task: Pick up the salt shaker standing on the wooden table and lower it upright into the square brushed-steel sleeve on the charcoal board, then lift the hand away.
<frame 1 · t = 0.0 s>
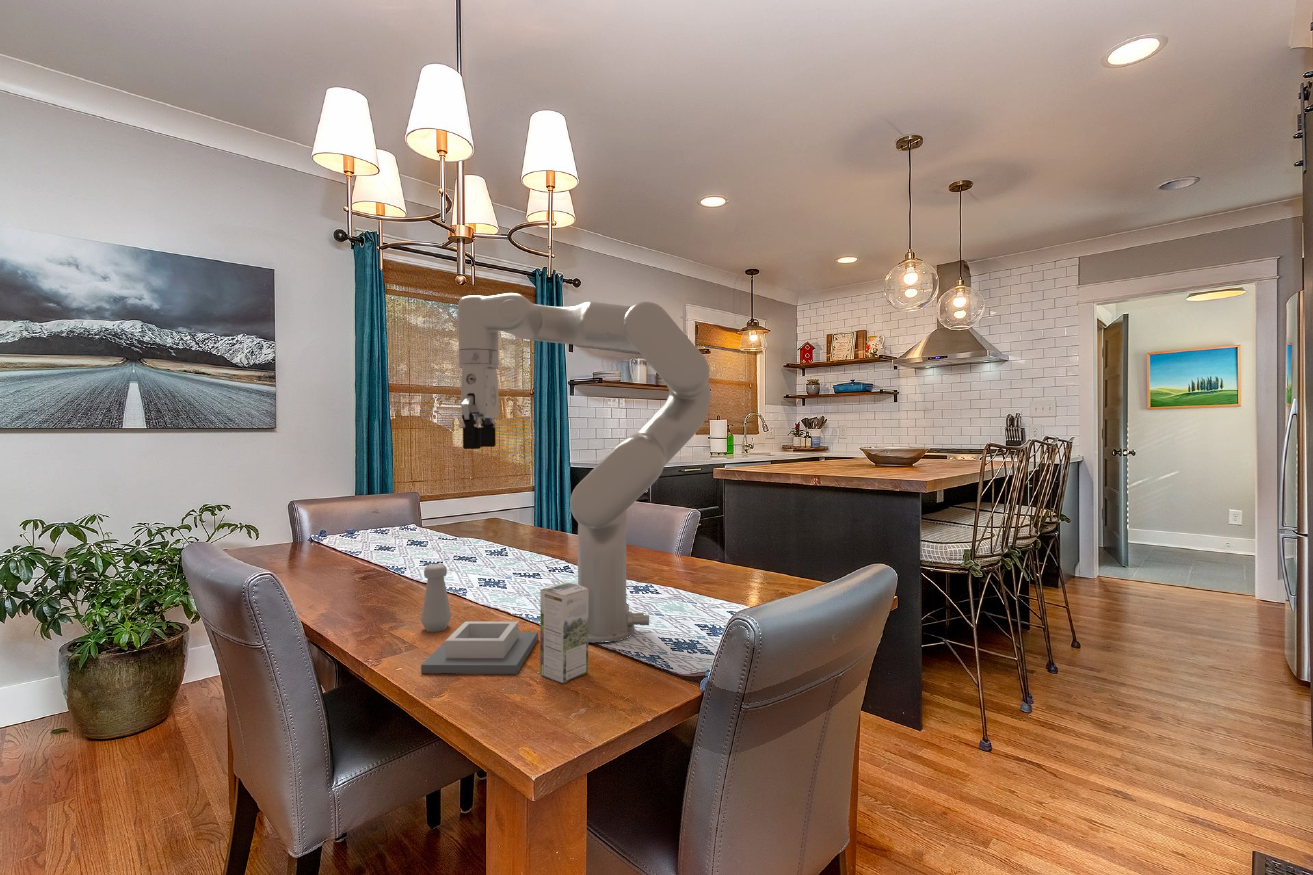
hand: (480, 447, 121), 37 cm above the table, tool pointing down, fingers open, 9 cm apart
sleeve board: (483, 655, 110), on the table
syrup box: (564, 675, 101), on the table
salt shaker: (436, 629, 124), on the table
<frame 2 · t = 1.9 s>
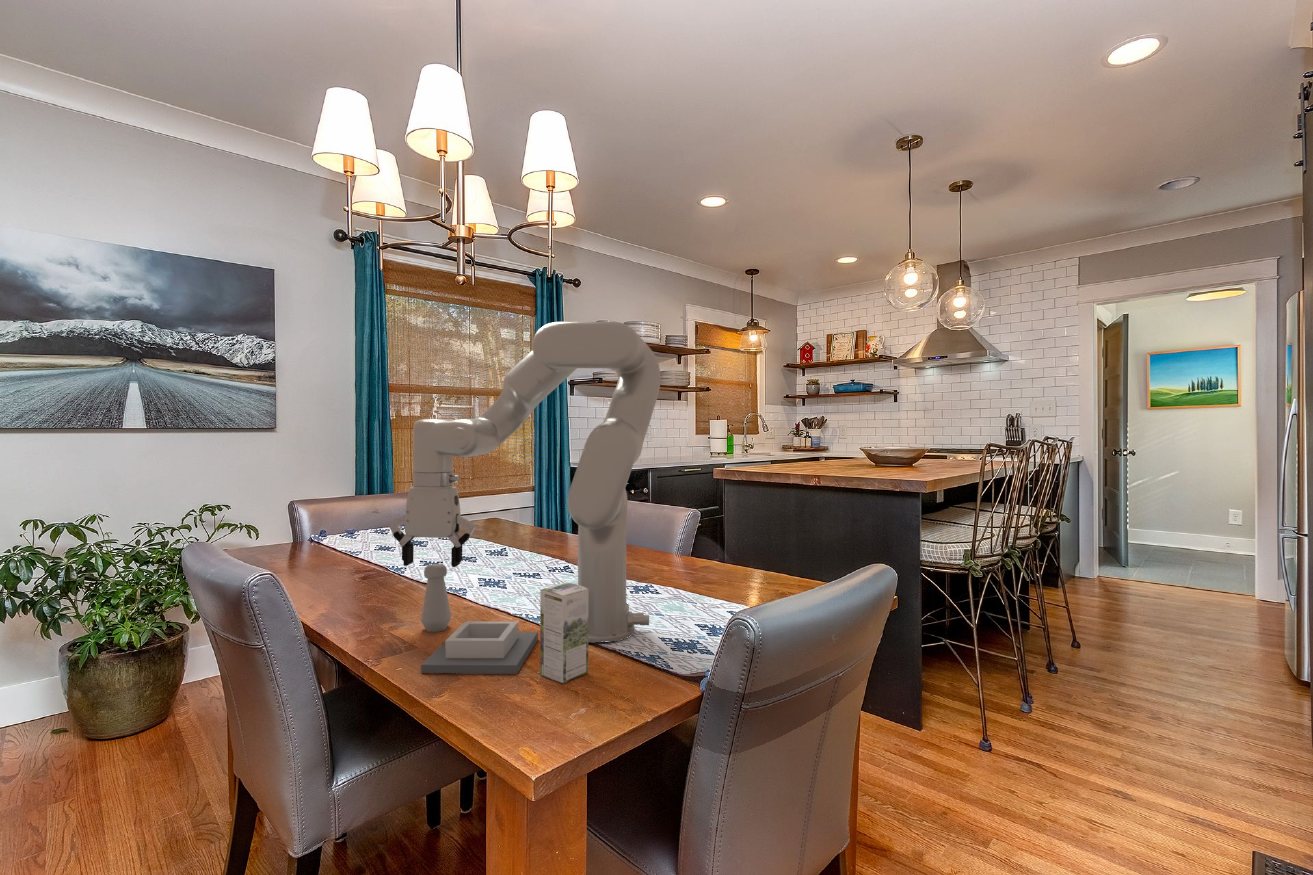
hand: (432, 565, 124), 13 cm above the table, tool pointing down, fingers open, 9 cm apart
nothing on the table moved.
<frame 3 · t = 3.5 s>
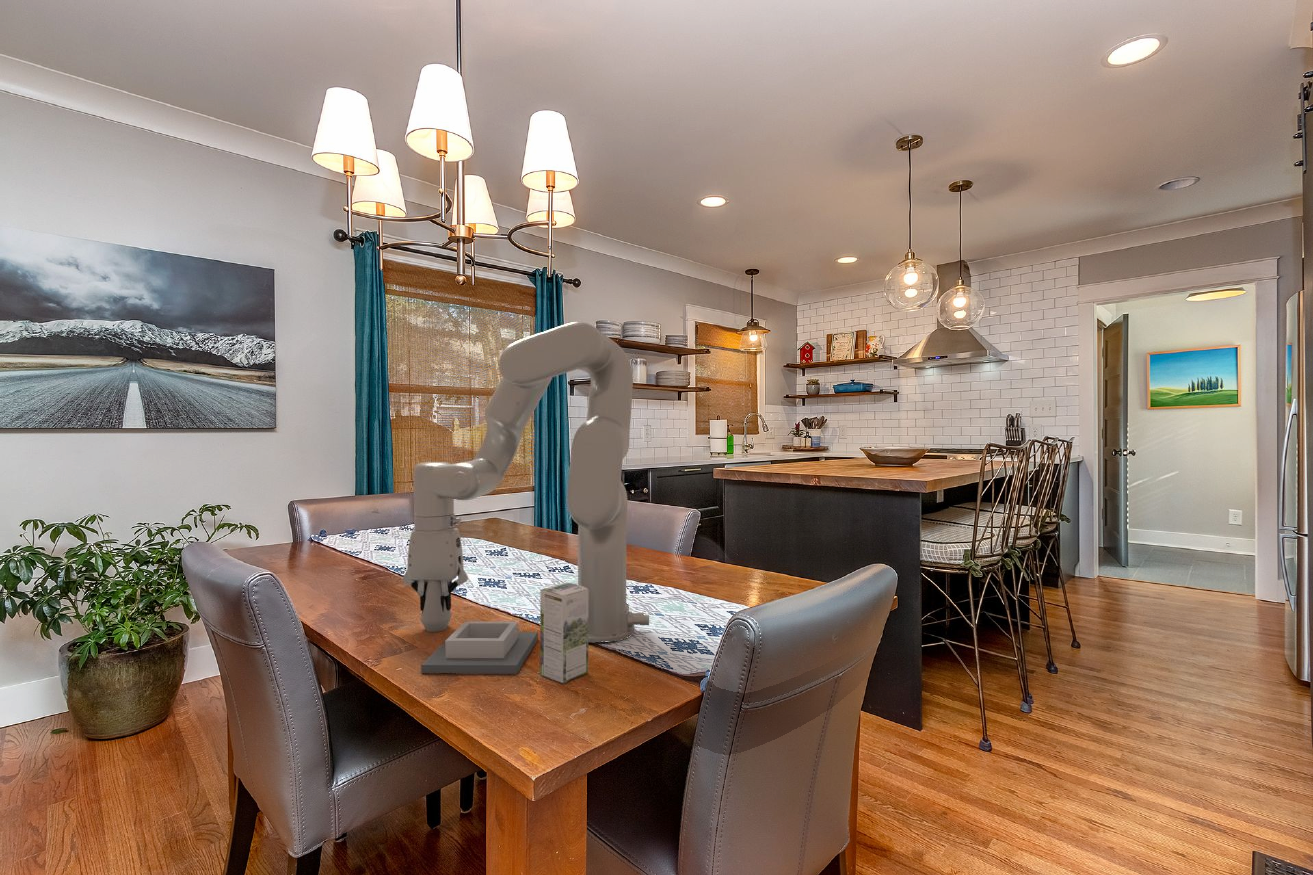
hand: (435, 613, 124), 3 cm above the table, tool pointing down, fingers closed on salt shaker, 3 cm apart
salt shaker: (436, 629, 124), on the table, touching gripper
everything else where it was.
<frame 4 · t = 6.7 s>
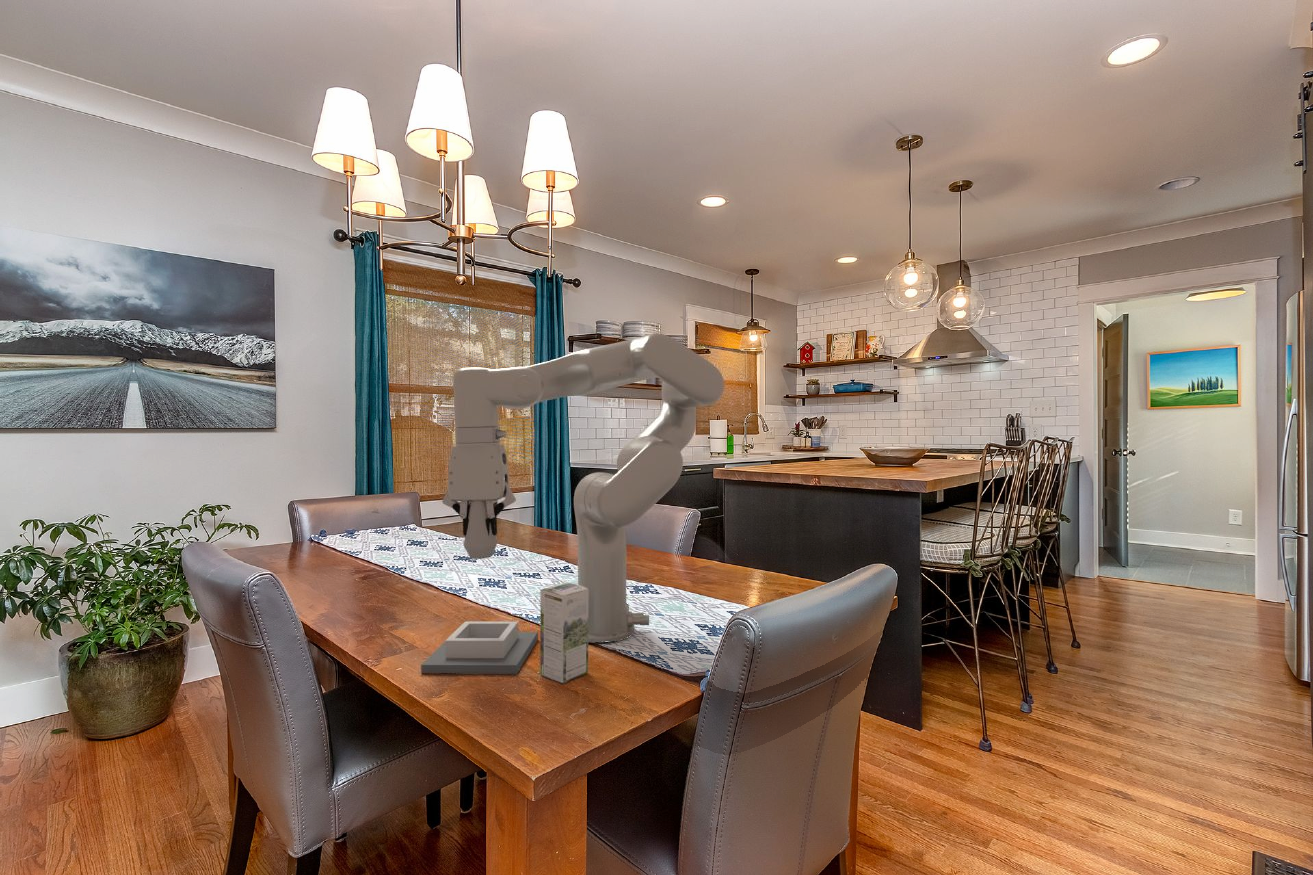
hand: (480, 538, 110), 21 cm above the table, tool pointing down, fingers closed on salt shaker, 3 cm apart
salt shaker: (481, 557, 110), point 17 cm above the table, touching gripper
everything else where it was.
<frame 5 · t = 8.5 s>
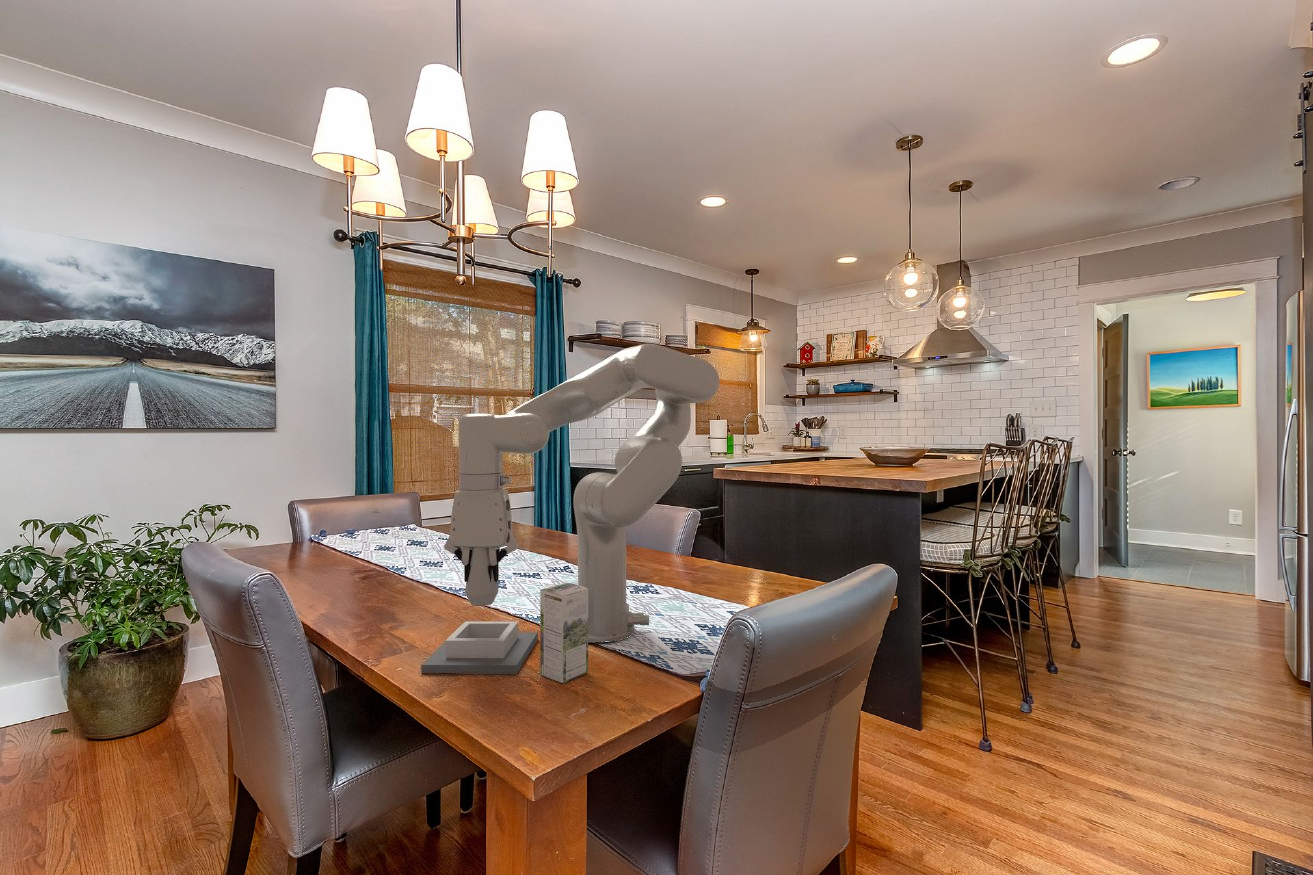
hand: (481, 585, 109), 13 cm above the table, tool pointing down, fingers closed on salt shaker, 3 cm apart
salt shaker: (482, 604, 109), point 9 cm above the table, touching gripper
everything else where it was.
when the fingers open (6 cm above the table, at t = 10.0 s): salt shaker drops 1 cm, resting on sleeve board.
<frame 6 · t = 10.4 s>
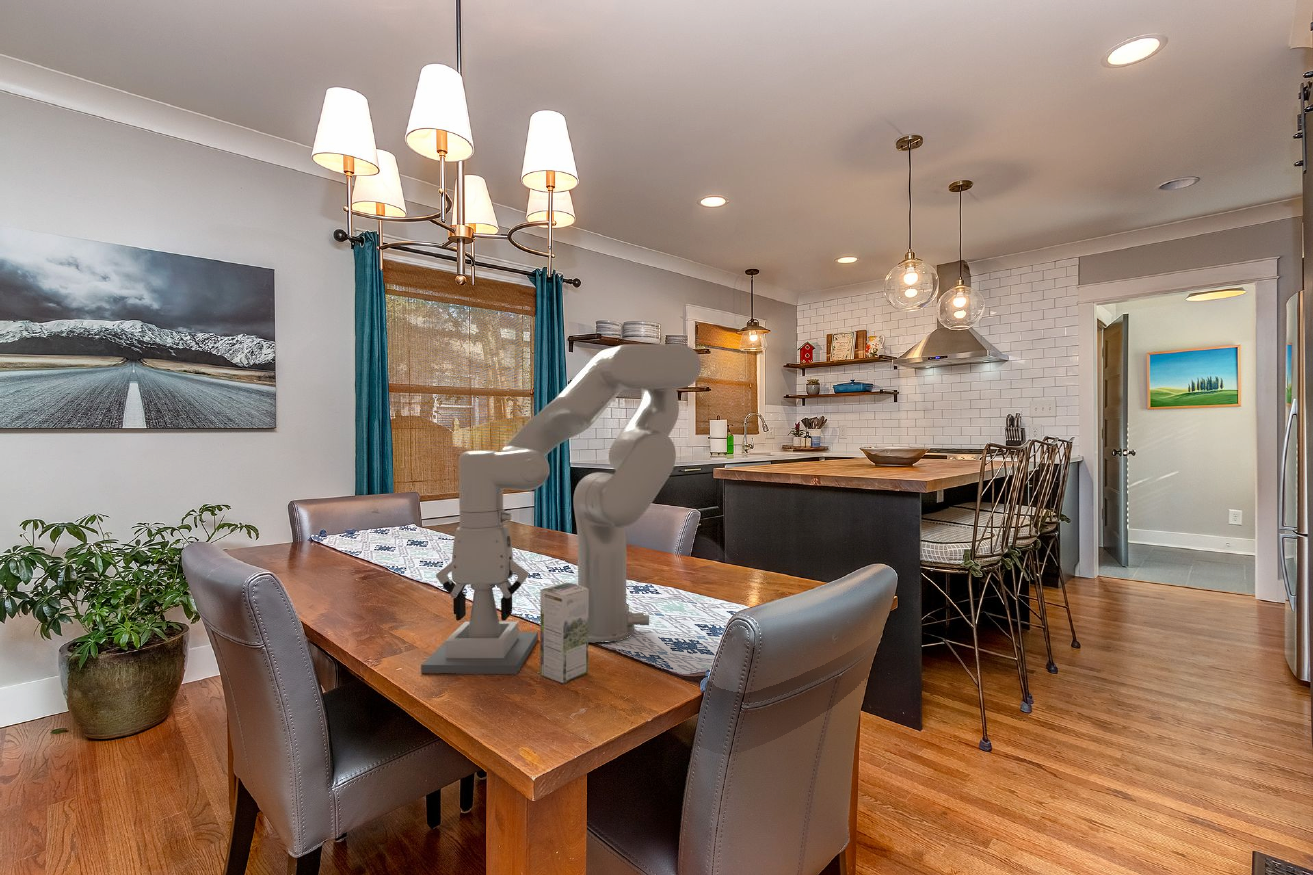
hand: (483, 617, 110), 7 cm above the table, tool pointing down, fingers open, 7 cm apart
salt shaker: (484, 648, 110), point 1 cm above the table, touching sleeve board
everything else where it was.
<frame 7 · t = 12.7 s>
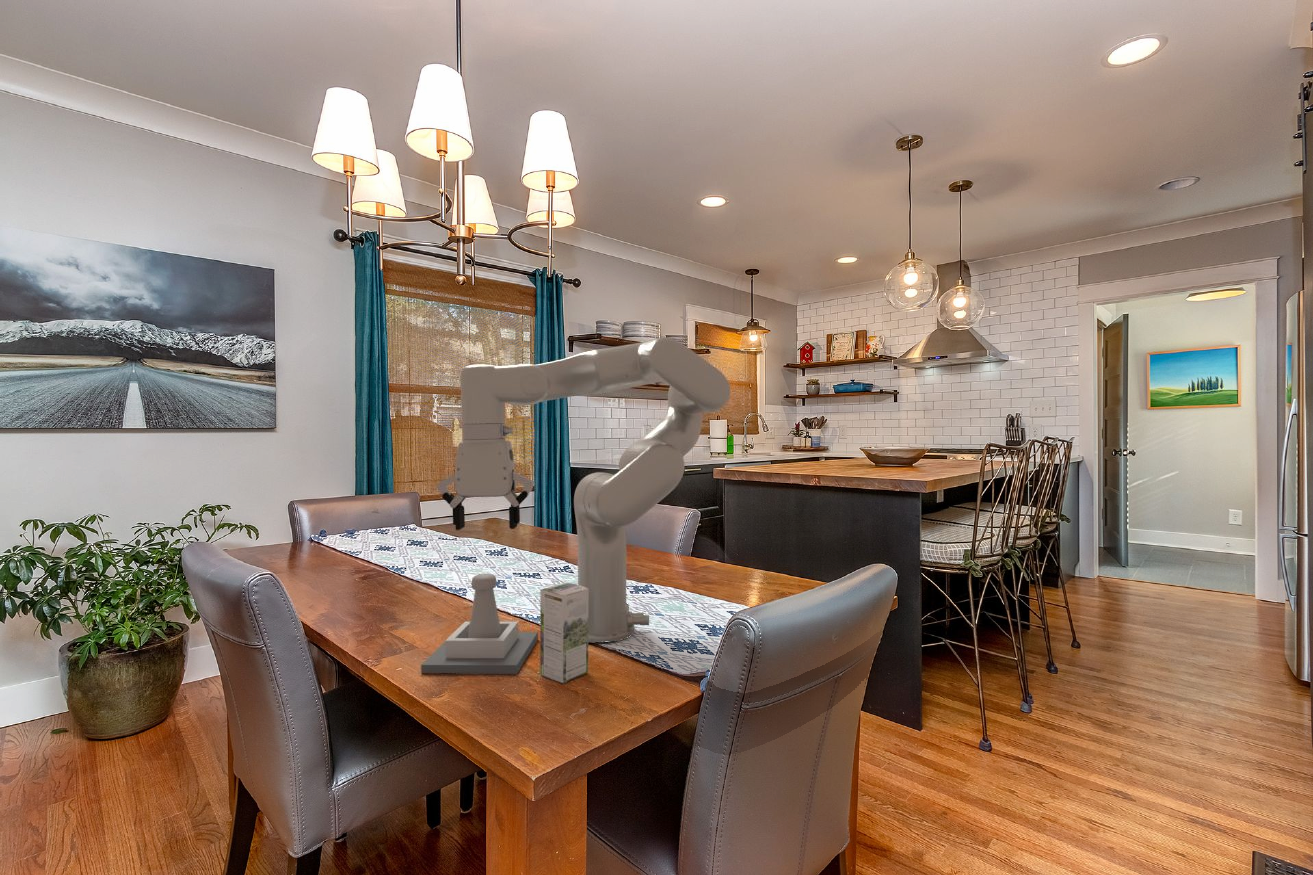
hand: (486, 528, 111), 23 cm above the table, tool pointing down, fingers open, 9 cm apart
nothing on the table moved.
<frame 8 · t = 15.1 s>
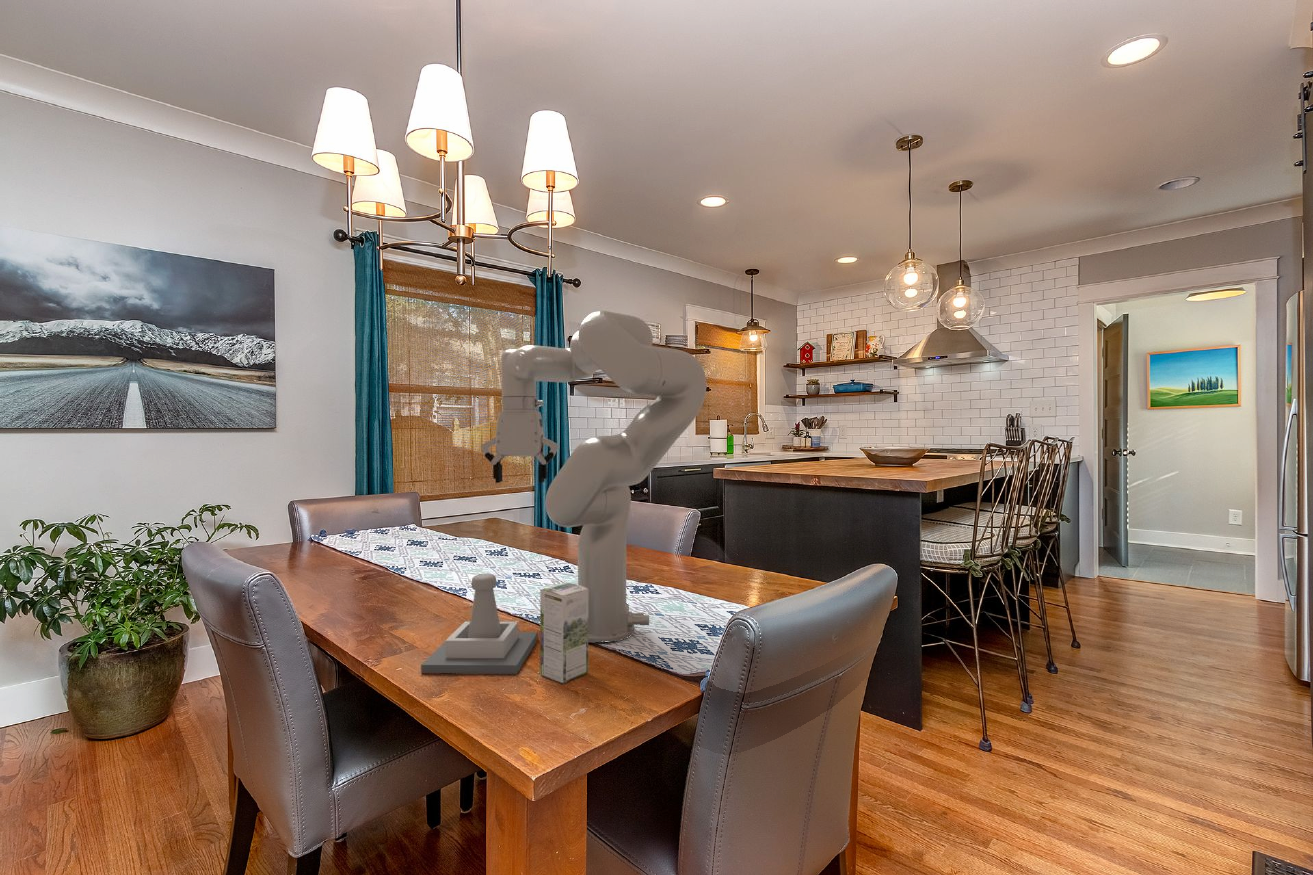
hand: (520, 482, 137), 28 cm above the table, tool pointing down, fingers open, 9 cm apart
nothing on the table moved.
at the end: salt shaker 0.2 cm off-centre on the sleeve board, point 1.3 cm above the sleeve board's base; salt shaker tilted 0°; the gripper is holding nothing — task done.
